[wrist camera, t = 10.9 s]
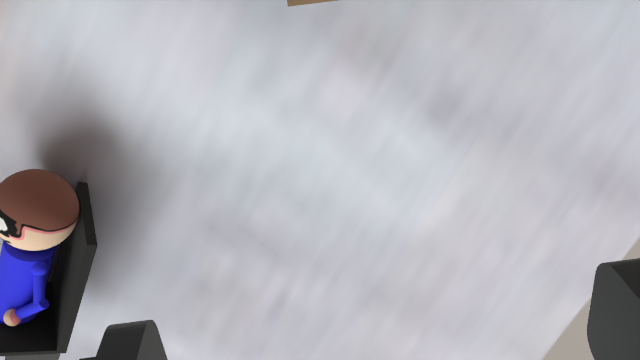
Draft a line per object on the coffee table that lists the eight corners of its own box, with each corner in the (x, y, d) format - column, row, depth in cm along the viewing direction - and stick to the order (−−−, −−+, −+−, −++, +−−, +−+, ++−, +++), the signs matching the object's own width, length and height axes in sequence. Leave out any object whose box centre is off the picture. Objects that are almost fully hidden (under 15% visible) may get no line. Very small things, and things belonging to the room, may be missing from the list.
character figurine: (-9, 302, 45) (31, 136, 39) (84, 332, 46) (137, 176, 40) (-70, 378, 38) (-33, 190, 32) (42, 411, 39) (99, 236, 33)
